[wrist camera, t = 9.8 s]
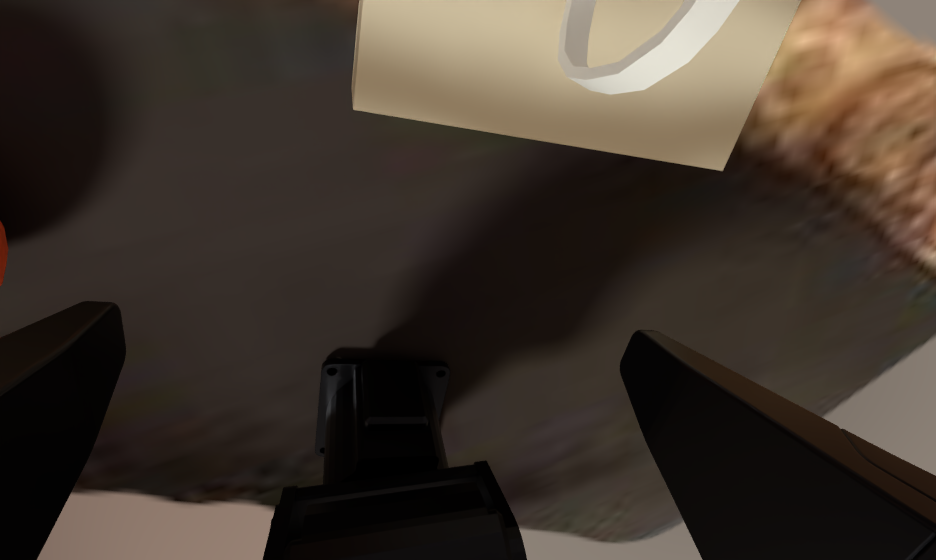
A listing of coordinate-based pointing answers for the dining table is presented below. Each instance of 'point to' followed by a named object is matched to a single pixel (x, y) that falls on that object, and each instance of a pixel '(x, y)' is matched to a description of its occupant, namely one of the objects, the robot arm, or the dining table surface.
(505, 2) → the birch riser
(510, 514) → the robot arm
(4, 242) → the clementine
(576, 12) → the cup
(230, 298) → the dining table surface
